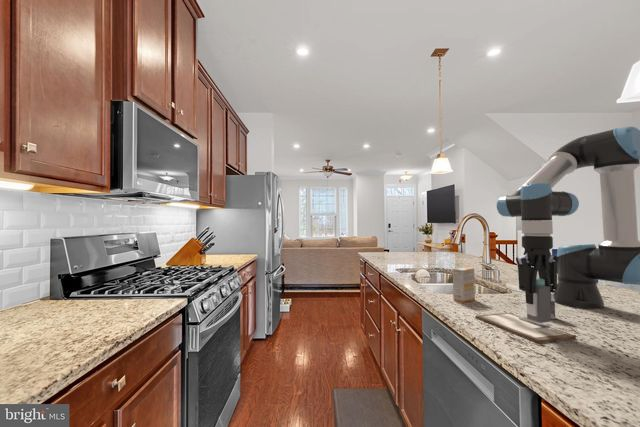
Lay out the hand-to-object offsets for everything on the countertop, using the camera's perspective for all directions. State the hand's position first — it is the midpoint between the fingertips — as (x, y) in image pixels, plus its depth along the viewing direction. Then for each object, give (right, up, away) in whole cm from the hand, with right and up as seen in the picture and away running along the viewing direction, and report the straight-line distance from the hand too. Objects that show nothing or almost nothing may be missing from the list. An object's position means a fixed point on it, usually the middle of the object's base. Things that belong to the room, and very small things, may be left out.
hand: (538, 314), depth 89 cm
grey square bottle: (0, -2, 0) cm, 2 cm away
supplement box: (-5, -6, +35) cm, 36 cm away
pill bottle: (+12, -5, +13) cm, 18 cm away
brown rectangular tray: (-4, -5, +2) cm, 7 cm away
